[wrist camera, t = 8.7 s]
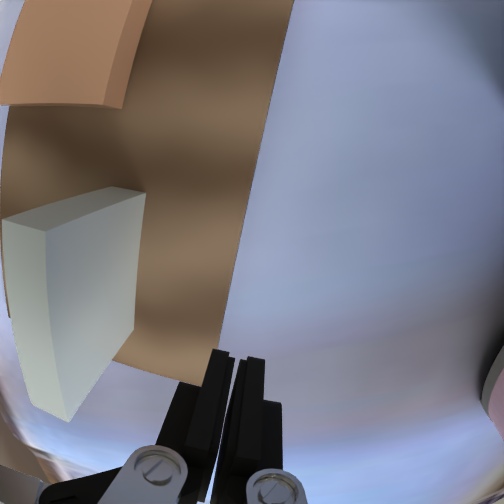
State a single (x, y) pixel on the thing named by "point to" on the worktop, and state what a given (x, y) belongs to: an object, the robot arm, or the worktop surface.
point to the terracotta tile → (72, 53)
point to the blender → (495, 393)
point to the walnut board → (166, 165)
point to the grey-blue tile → (72, 291)
